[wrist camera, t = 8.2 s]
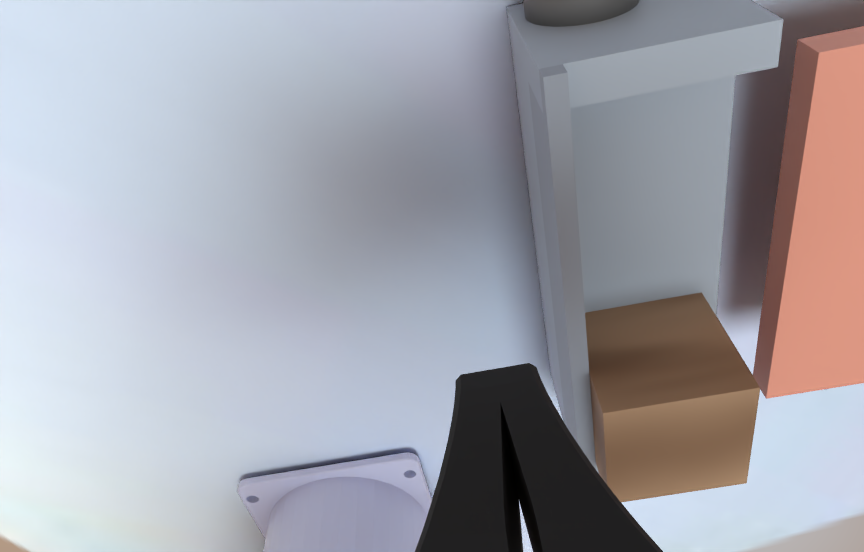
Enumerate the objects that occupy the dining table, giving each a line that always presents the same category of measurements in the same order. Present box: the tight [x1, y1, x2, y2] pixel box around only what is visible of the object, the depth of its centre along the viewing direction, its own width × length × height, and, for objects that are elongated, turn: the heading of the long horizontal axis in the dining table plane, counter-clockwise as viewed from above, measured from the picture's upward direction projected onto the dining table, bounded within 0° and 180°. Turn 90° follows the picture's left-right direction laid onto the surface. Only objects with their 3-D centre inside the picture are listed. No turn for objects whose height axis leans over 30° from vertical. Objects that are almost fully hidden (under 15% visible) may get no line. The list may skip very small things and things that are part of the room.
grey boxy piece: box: [506, 0, 784, 473], centre depth 20 cm, size 16×5×6 cm, turn 11°
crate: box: [585, 292, 760, 502], centre depth 20 cm, size 4×4×4 cm
